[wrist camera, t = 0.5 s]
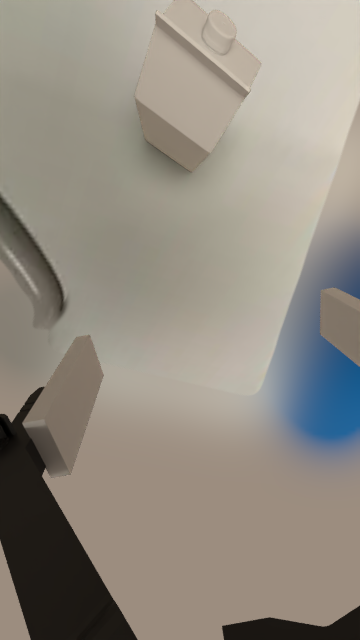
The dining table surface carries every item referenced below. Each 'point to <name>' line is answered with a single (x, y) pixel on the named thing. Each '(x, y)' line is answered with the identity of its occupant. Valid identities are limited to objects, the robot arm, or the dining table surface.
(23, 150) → the dining table surface
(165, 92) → the milk carton
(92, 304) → the dining table surface
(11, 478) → the robot arm
